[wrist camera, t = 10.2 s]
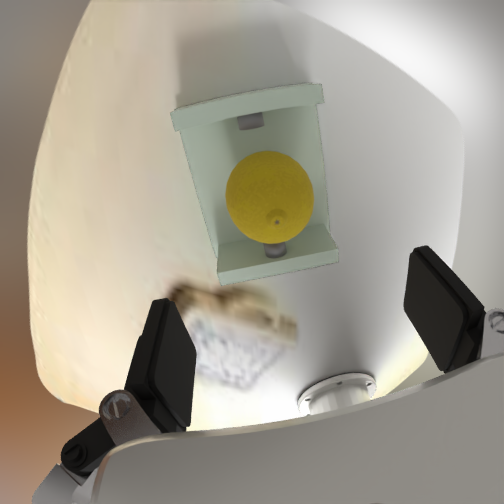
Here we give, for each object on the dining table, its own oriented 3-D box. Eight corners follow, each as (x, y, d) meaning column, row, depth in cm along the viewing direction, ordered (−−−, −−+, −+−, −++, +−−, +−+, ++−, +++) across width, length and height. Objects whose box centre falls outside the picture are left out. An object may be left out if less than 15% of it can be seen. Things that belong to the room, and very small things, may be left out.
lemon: (253, 126, 20) (264, 149, 13) (313, 167, 22) (349, 209, 15) (212, 187, 22) (203, 237, 16) (271, 222, 24) (287, 282, 17)
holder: (326, 229, 26) (344, 260, 22) (216, 252, 27) (214, 287, 22) (308, 82, 19) (329, 83, 15) (176, 108, 20) (162, 115, 16)
